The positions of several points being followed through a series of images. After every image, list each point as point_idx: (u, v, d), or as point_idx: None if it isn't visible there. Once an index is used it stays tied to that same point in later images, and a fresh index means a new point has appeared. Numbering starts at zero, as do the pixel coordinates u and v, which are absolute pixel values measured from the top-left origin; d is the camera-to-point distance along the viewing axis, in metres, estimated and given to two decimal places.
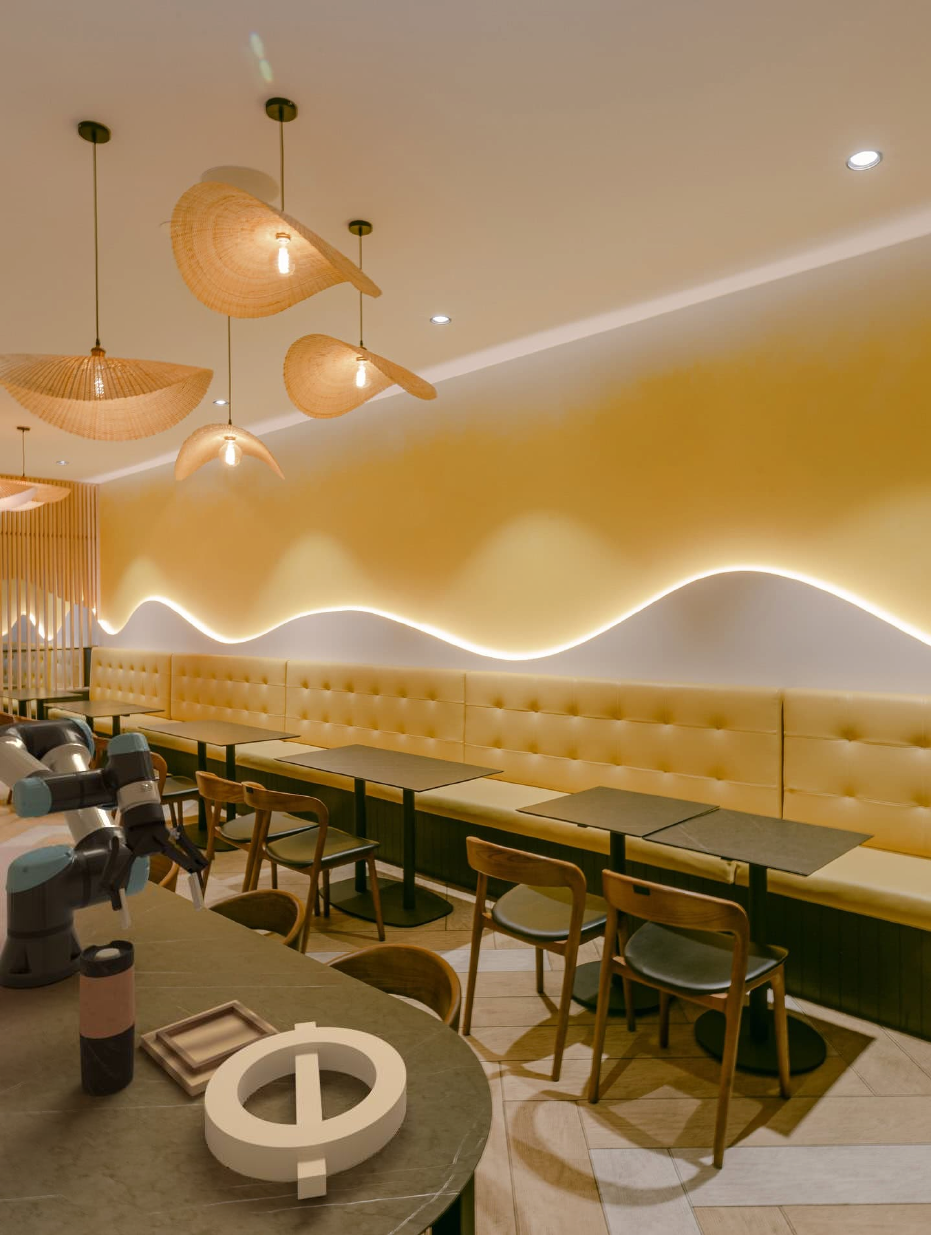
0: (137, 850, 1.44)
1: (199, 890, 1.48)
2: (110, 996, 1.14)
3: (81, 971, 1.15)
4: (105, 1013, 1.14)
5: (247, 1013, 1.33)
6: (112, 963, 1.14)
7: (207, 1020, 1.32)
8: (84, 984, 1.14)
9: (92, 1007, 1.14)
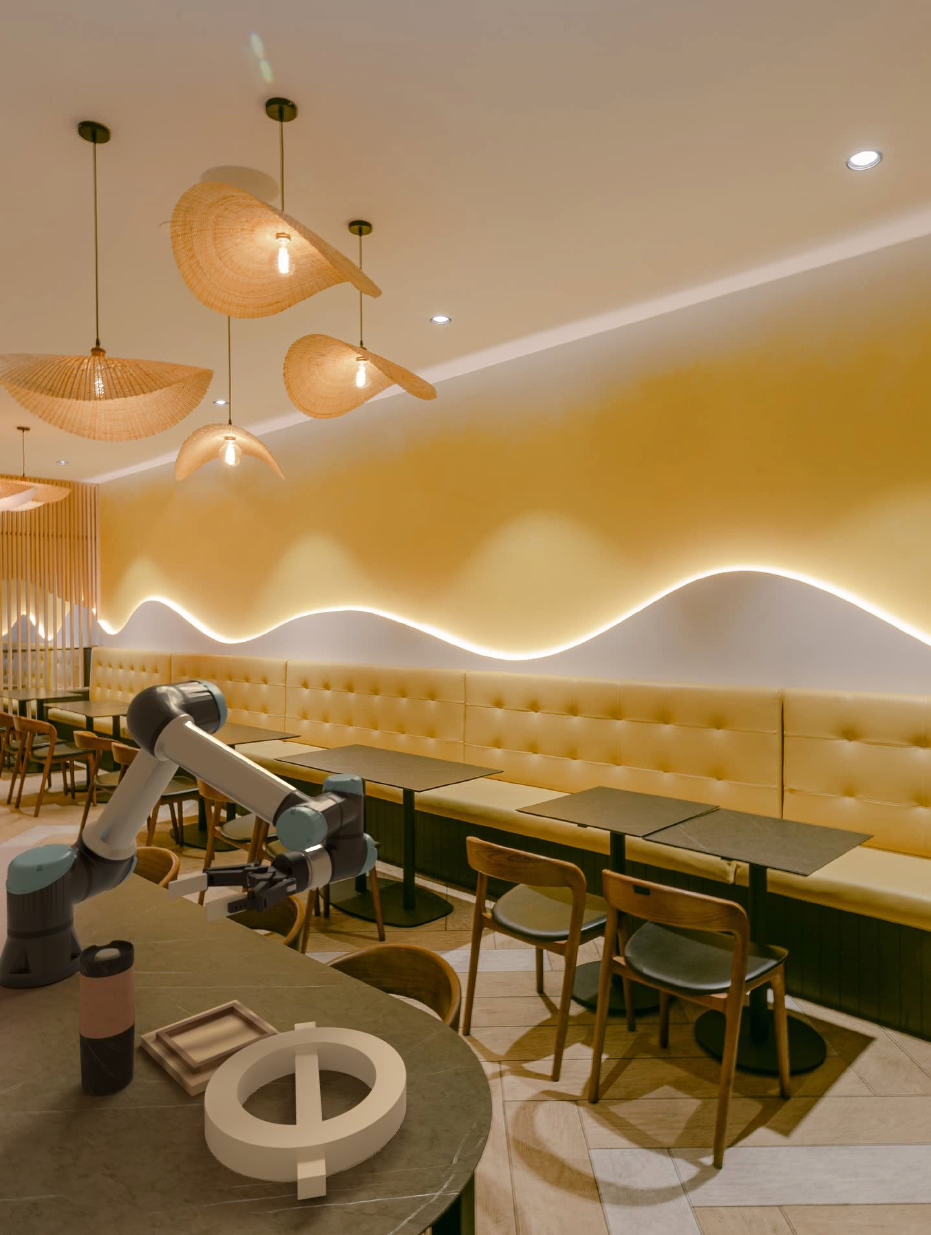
0: None
1: None
2: (110, 996, 1.14)
3: (81, 971, 1.15)
4: (105, 1013, 1.14)
5: (247, 1013, 1.33)
6: (112, 963, 1.14)
7: (207, 1020, 1.32)
8: (84, 984, 1.14)
9: (92, 1007, 1.14)
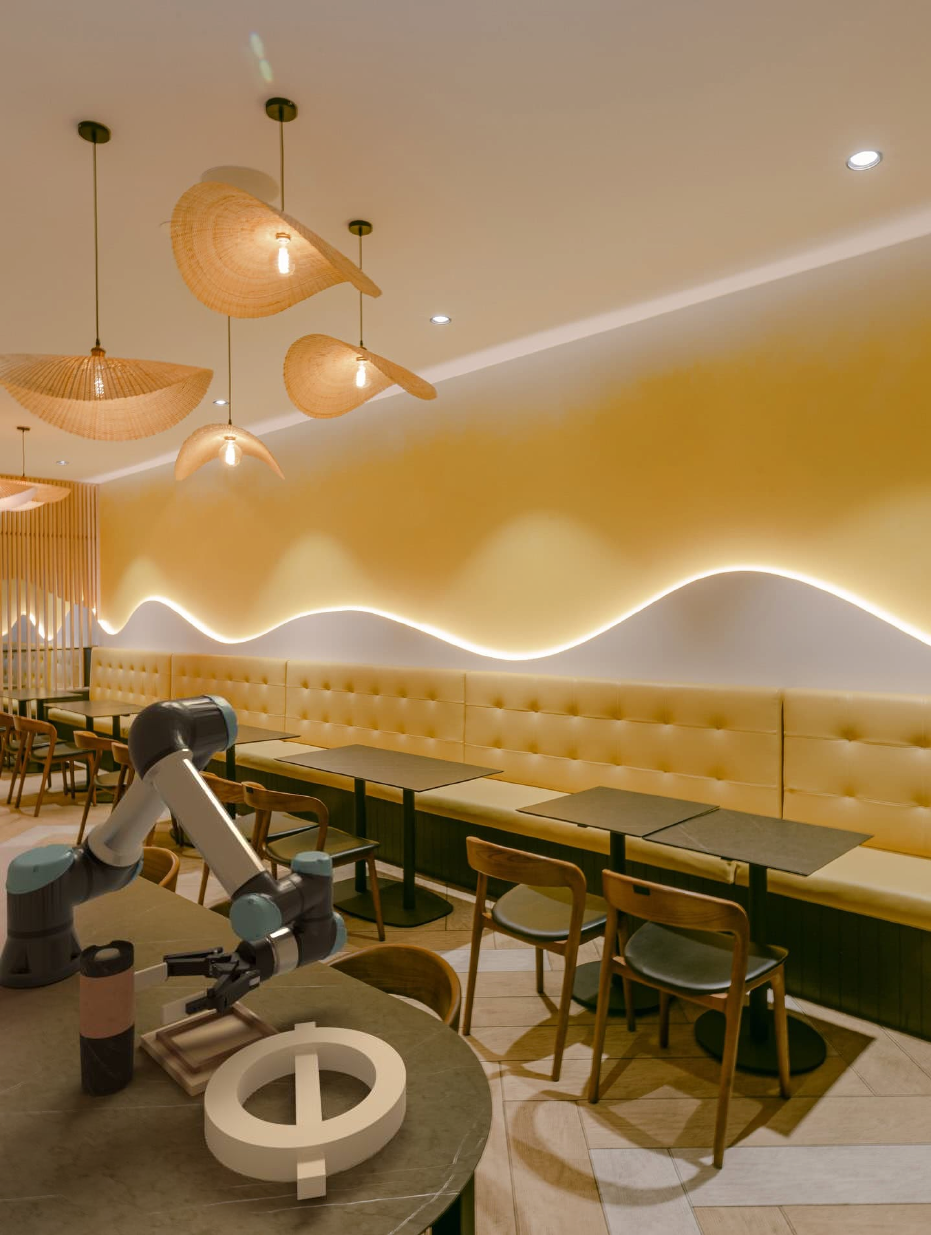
0: None
1: None
2: (110, 996, 1.14)
3: (81, 971, 1.15)
4: (105, 1013, 1.14)
5: (247, 1013, 1.33)
6: (112, 963, 1.14)
7: (207, 1020, 1.32)
8: (84, 984, 1.14)
9: (92, 1007, 1.14)
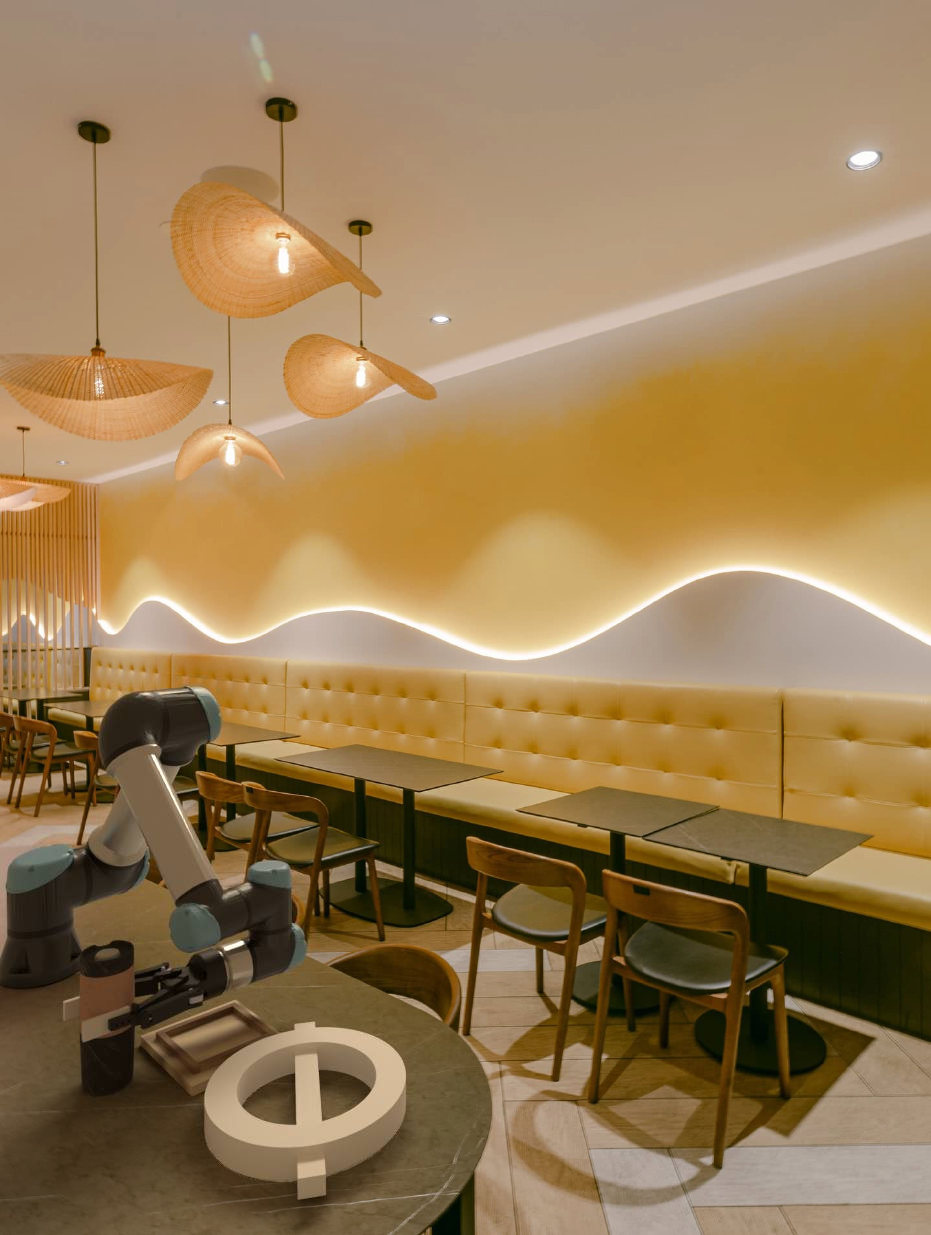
0: None
1: None
2: (110, 996, 1.14)
3: (81, 971, 1.15)
4: None
5: (247, 1013, 1.33)
6: (112, 963, 1.14)
7: (207, 1020, 1.32)
8: (84, 984, 1.14)
9: (92, 1007, 1.14)
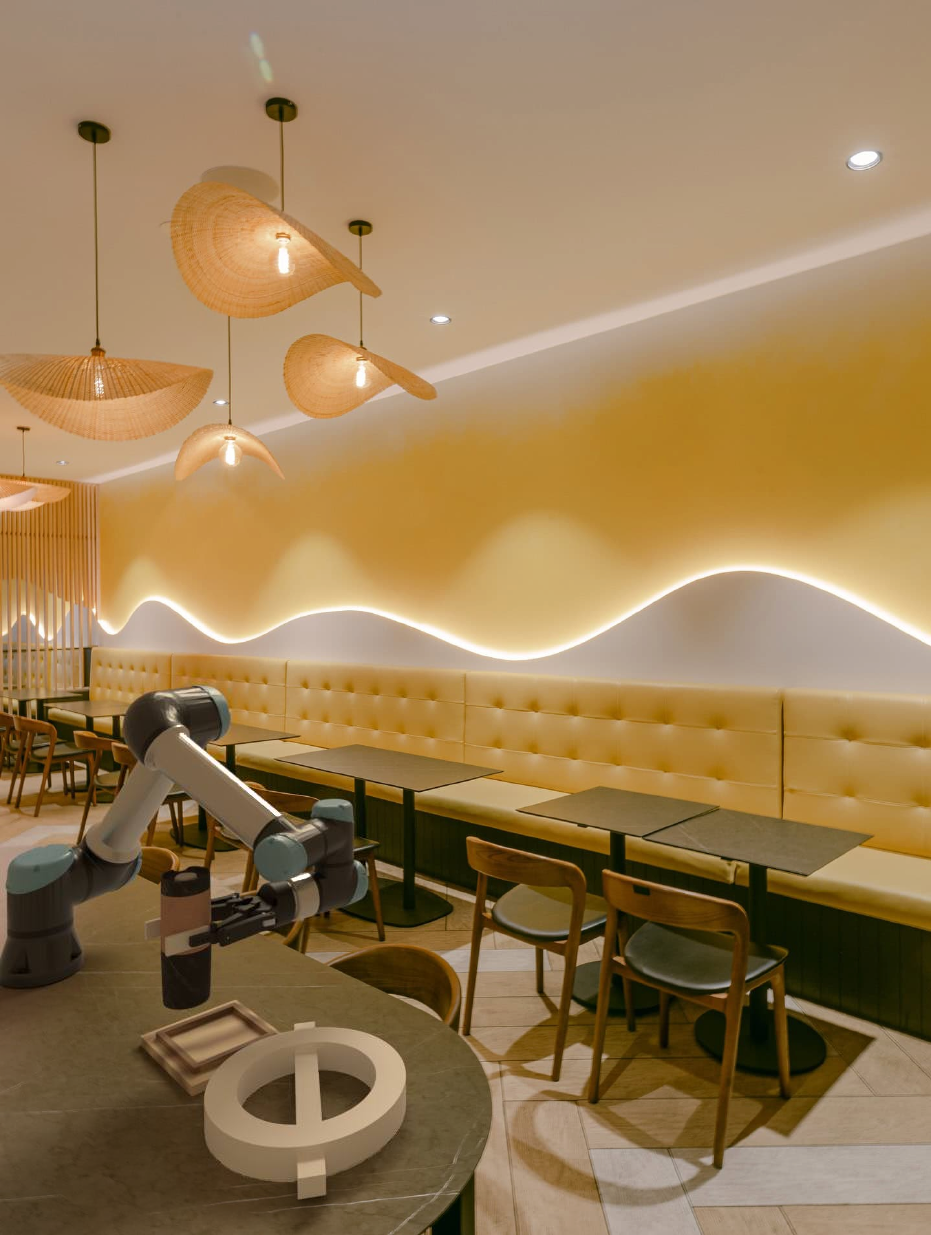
0: None
1: None
2: (190, 915, 1.20)
3: (162, 891, 1.21)
4: None
5: (247, 1013, 1.33)
6: (192, 884, 1.20)
7: (207, 1020, 1.32)
8: (166, 904, 1.20)
9: (173, 925, 1.19)
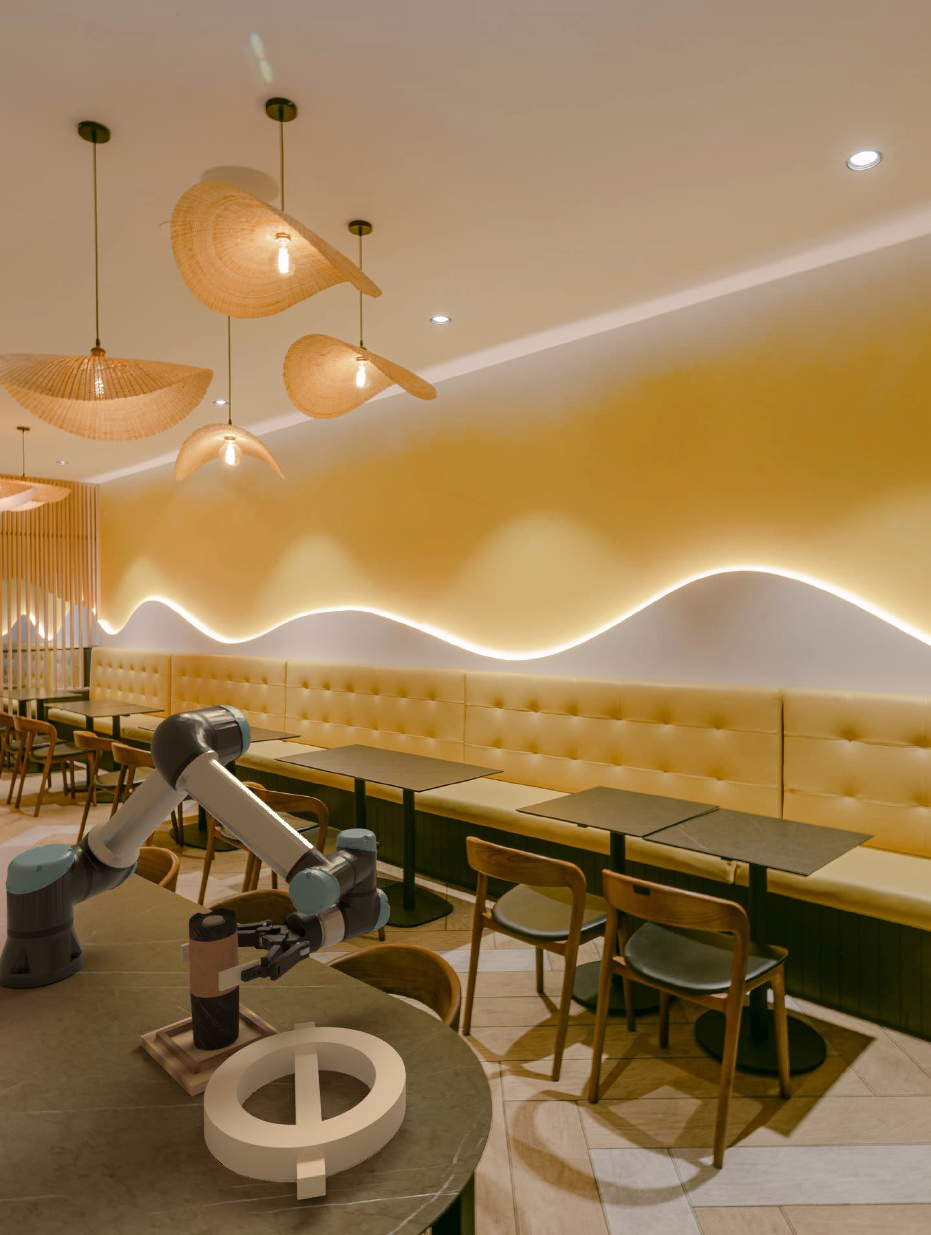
0: None
1: None
2: (219, 959, 1.23)
3: (191, 936, 1.23)
4: (215, 974, 1.23)
5: (247, 1013, 1.33)
6: (220, 928, 1.23)
7: None
8: (195, 948, 1.23)
9: (203, 969, 1.22)
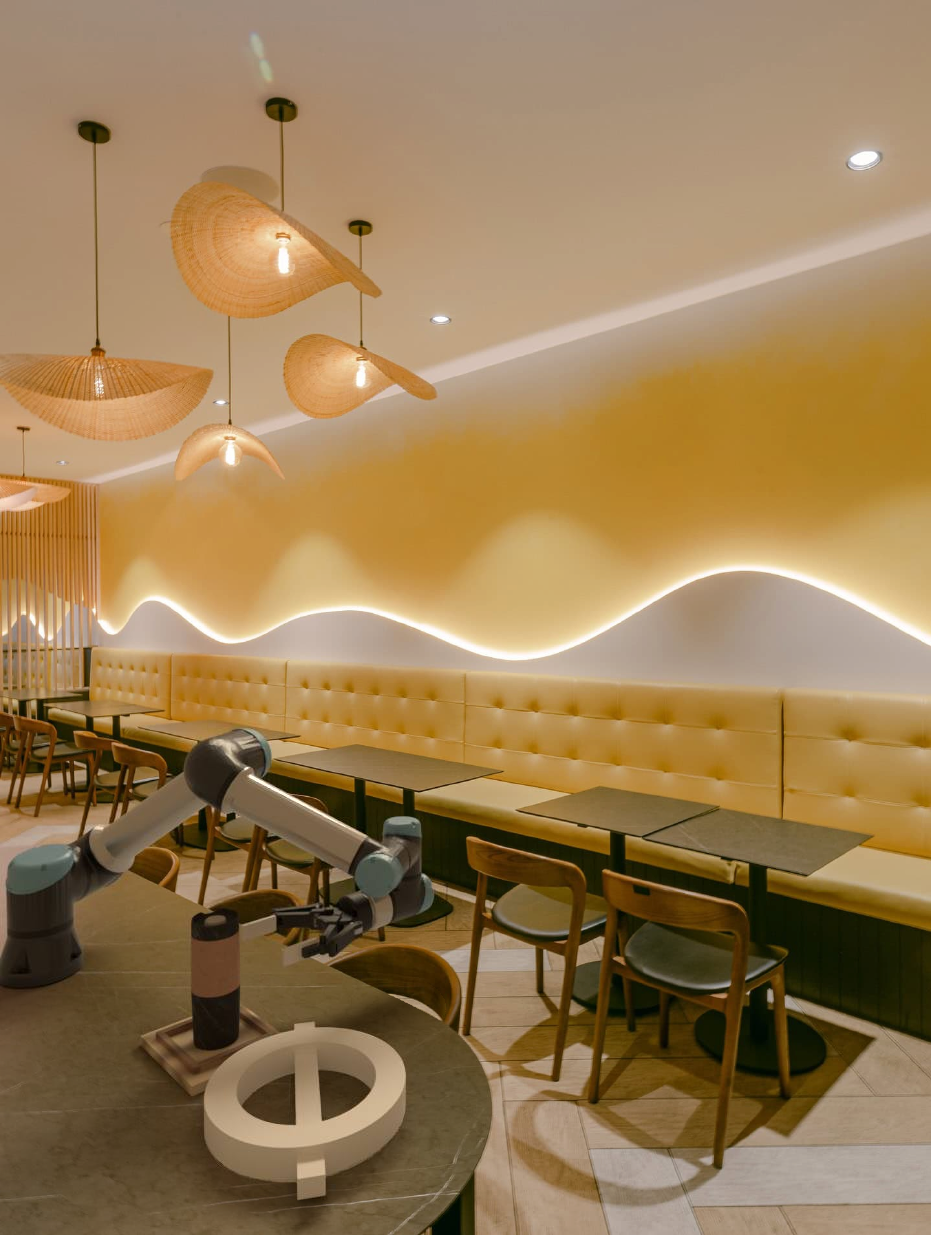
0: None
1: None
2: (221, 959, 1.23)
3: (193, 935, 1.24)
4: (216, 974, 1.23)
5: (247, 1013, 1.33)
6: (222, 928, 1.23)
7: None
8: (197, 947, 1.23)
9: (204, 969, 1.23)
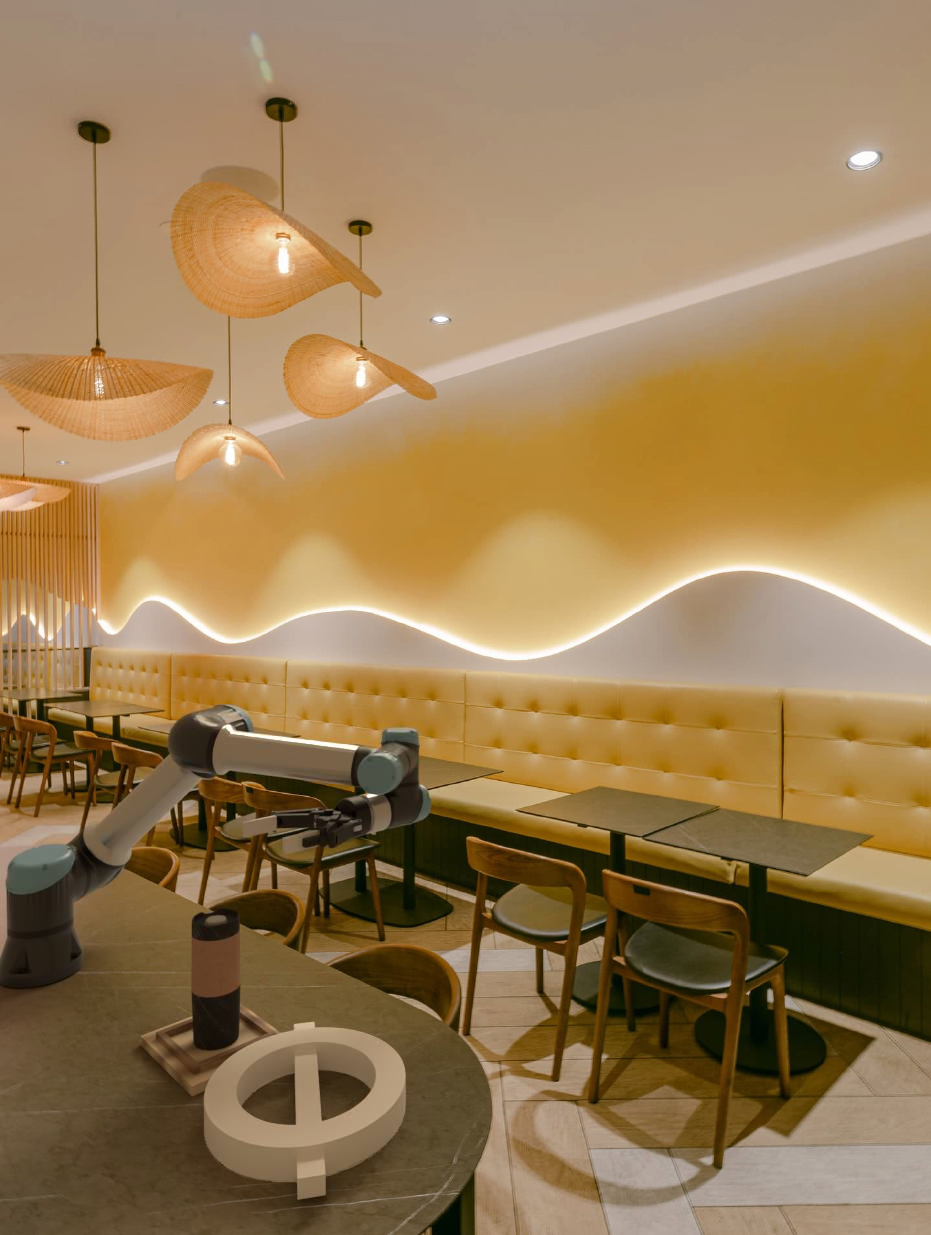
0: None
1: None
2: (221, 958, 1.23)
3: (194, 935, 1.24)
4: (217, 973, 1.23)
5: (247, 1013, 1.33)
6: (223, 928, 1.23)
7: None
8: (197, 947, 1.23)
9: (205, 968, 1.23)
